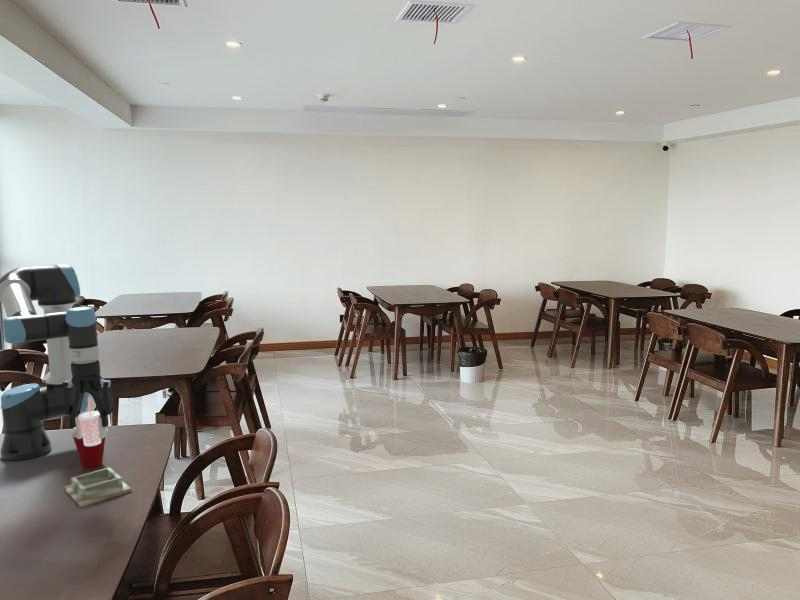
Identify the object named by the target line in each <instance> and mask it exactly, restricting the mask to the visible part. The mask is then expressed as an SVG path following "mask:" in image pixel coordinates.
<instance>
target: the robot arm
mask: <svg viewBox="0 0 800 600" xmlns="http://www.w3.org/2000/svg"><path fill="white" fill-rule="evenodd" d="M80 296H81V288H80V283H79V279H78V275H77V273H76V270H75V269H74V267H73V266H71V265H70V264H48V265H36V266H22V267H21V266H20V267H16V268H14V269H12V270H10V271H8V272H6V273H5V274H4V275H2V276H1V277H0V303H1V304H2V305H3V306H2V307H3V308H4V312H5V314H6V317H5V318H3V320H2V321H1V322H2V331H3V333H2V334H3V338H4V341H5V342H6V343H7V344H23V343H27V342H28V343H29V342H36V341H43V340H46V346H47V356H48V366H49V377H48V378H47V379H46V380H45V386H41V387H40V384H38V383H26V384H21V385H18V386H14V387H12V388H10V389H8V390H5V391H4V392H2V394H1V396H0V409H1V413H2V421H3V422H2V424H3V432H4V433H3V434H4V436H3V438H2V442H1V447H0V458H1V460H3V459H4V461H13V462H15V461H24V460H29V459H34V458H37V457H41V456H42V455H43V456H44V455H45V454H47V453H48V452H50V451H51V450H52V441H51V440H50V437H49V436H48V434H47V432H46V429H45V427H44V421H47V420H52V419H57V418H63V417H69V416H71V417H72V425H73V428H75V431H77V439H81V438H82V437H83V436H82V430H81V424H80V419H79V417H78V416H79V415H80V414H81V413H84V412H87V411H86V410H87V409H88V397H89V398H90V396H91V397H92V398H93V401H94V404H95V406H96V409H97V411H99V414H100V416H99V417H98V425H99V436H100V439H103V438H104V437H105V438H107V436H108V432H107V430H106V428H107V427H108V426H109V425H110V423H109V416H110V415H111V414H113V413H114V412H115V406H114V400H113V394H112V380H111V379H108V380H106V379H103V378H102V375H101V361H100V360H99V359H100V351H99V350H100V349H99V342H98V341H99V340H98V332H97V331H98V330H97V317H96V311H95V309H94V307H92V306H78V307H73V306H74V305H75V304H76V302H77V301H76V298H78V297H80ZM33 301H37V305H38V307H40V309H42V310H43V313H39V314H38V313H37V311H36V309H35V306H34V304H33ZM100 386H101V388H102V391H101V388H100ZM101 392H102V394H101ZM102 395H103V396H102Z"/></svg>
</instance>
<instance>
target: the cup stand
mask: <svg viewBox="0 0 800 600" xmlns="http://www.w3.org/2000/svg"><path fill="white" fill-rule="evenodd" d="M63 490H64V491H65V492H66V493H67V495H68V496H71V497H72V498H73V499H74V500H75V501H74V500H73V499H72V498H71V497H70V498H71V499H72V500H73V501H74V502H75V504H76V505H78V507H79V506H80V507H79V508H84V507H86V506H90V505H92V504H96V503H99V502H102V501H106V500H108V499H111V498H112V499H113V498H115V497H118V496H121V495H124V494H128V493H131V492H132V487H130V486H129V485H127V483H126V482H124V481H123V478H122V476H121V475H119V474H118V472H116V471H115V470H114V469H112V468H111V467H110V466H109V467H105V468H102V469H97V470H95V471H91V472H88V473H84V474H79V475H76V476H73V477H70V484H67V485H65V486H63Z"/></svg>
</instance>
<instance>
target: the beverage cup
mask: <svg viewBox="0 0 800 600" xmlns="http://www.w3.org/2000/svg"><path fill="white" fill-rule="evenodd" d="M90 402H91V401H90V396H89V397H88V407H87V409H88V411H84V412H83V413H80V414H79V416H78V417H79V419H80V424H81V430H82V436H83V442H84V446H95V445H98V444H100V443H101V439H100V436H99V425H98V417H99V416H100V414H99V411H98V410H91V403H90Z"/></svg>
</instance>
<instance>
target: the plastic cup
mask: <svg viewBox="0 0 800 600" xmlns="http://www.w3.org/2000/svg"><path fill="white" fill-rule="evenodd" d="M106 430H107V433H108V431H109V430H108V428H107V427H106ZM70 435H71V437H72V438H73V441H74V444H75V447H76V450H77V454H78V458H79V460H80V463H81V467H82V468H83V469H84V470H92V469H93V468H94V469H97V468H99V466H100V467H101V466H102V465H103V463H104V462H103V459H104V452H105V451H104V450H105V443H106V437H104V438H103V439H101V443H100V444H98V445H95V446H84V442H83V437H82V438H81V439H77V431H76V430H75V431H73V432H71V434H70Z"/></svg>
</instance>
